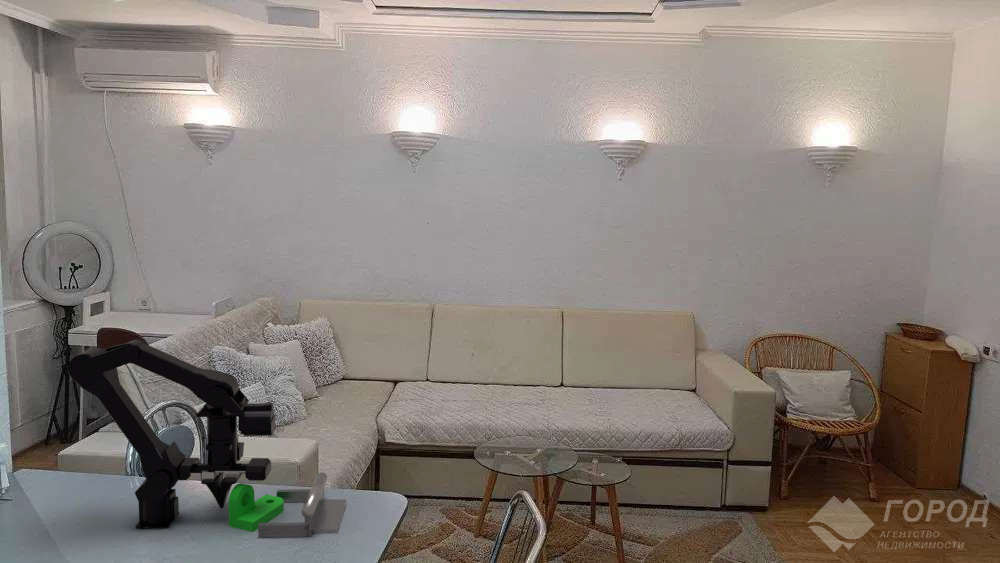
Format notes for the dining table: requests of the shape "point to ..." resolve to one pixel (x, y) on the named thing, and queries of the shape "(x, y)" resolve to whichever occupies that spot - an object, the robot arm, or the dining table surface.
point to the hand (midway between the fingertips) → (222, 508)
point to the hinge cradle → (307, 512)
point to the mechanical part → (251, 508)
